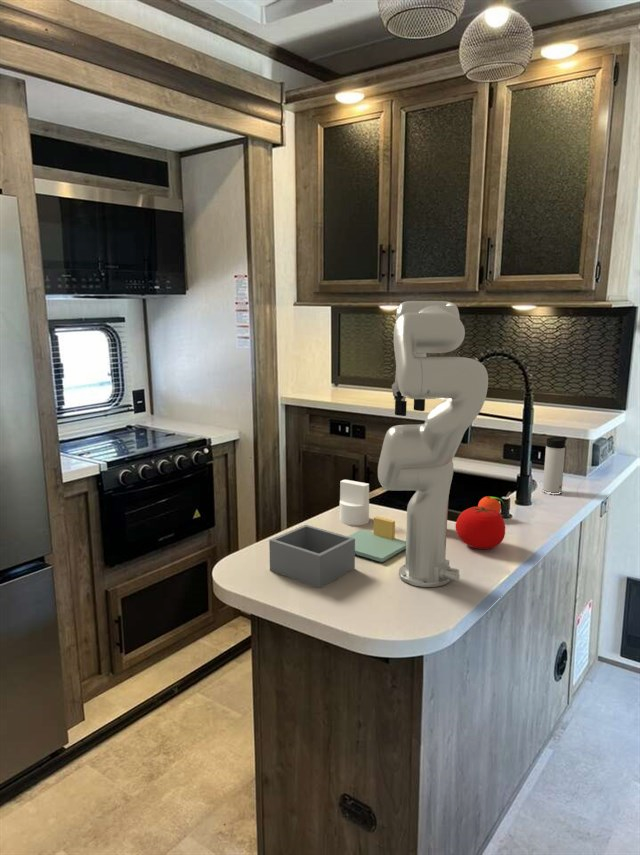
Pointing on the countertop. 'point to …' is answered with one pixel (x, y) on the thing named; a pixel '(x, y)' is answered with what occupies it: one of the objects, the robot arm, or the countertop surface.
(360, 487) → the cylinder with rectangular tab
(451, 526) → the countertop surface
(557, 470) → the travel mug
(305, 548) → the tub
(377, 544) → the door
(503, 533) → the tomato
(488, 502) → the clementine
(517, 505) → the countertop surface
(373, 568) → the countertop surface
